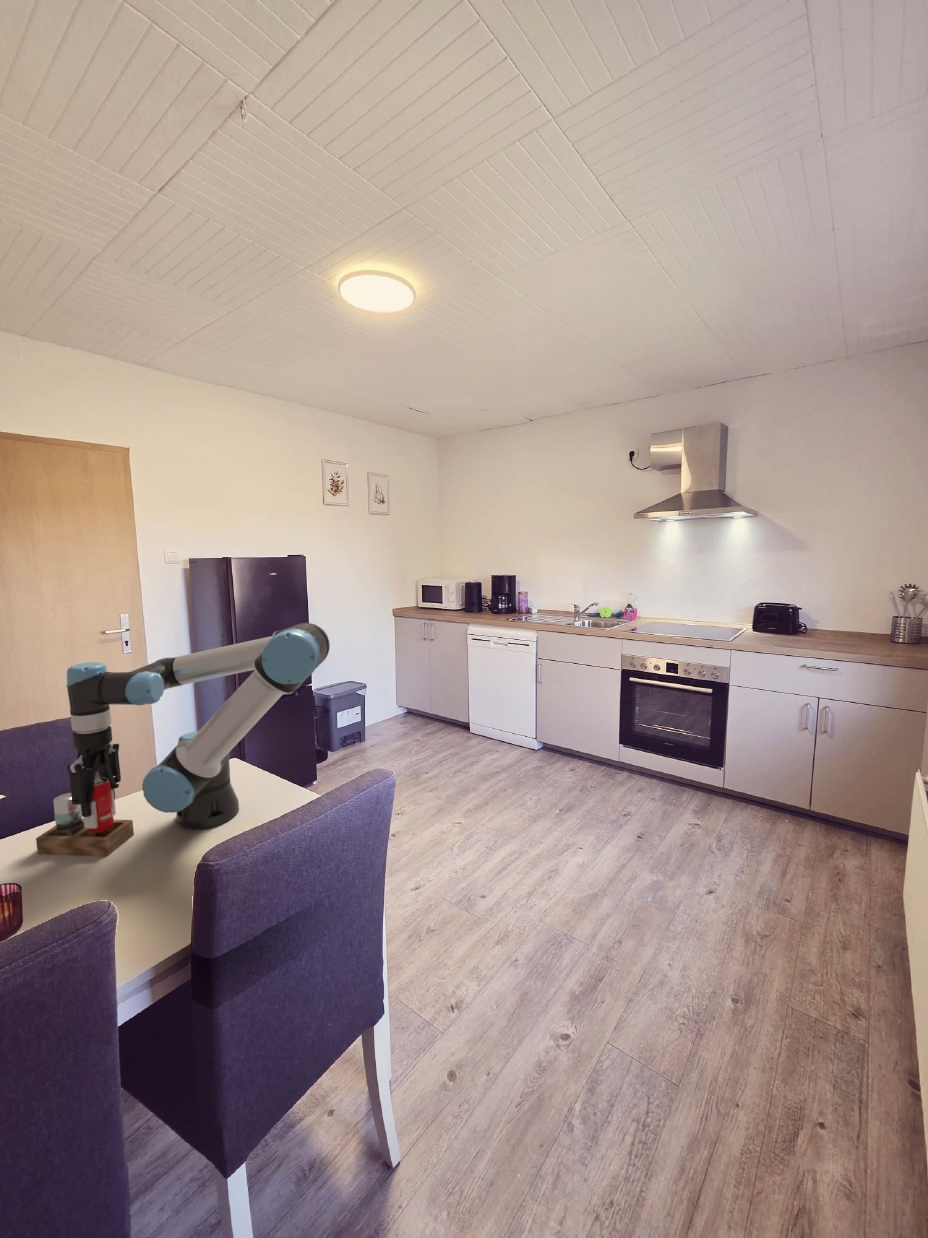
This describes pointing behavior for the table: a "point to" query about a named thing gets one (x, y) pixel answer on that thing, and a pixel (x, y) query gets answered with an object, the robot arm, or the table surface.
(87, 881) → the table surface
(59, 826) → the transparent cylindrical container
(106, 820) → the beverage can
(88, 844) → the holder
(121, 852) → the table surface
